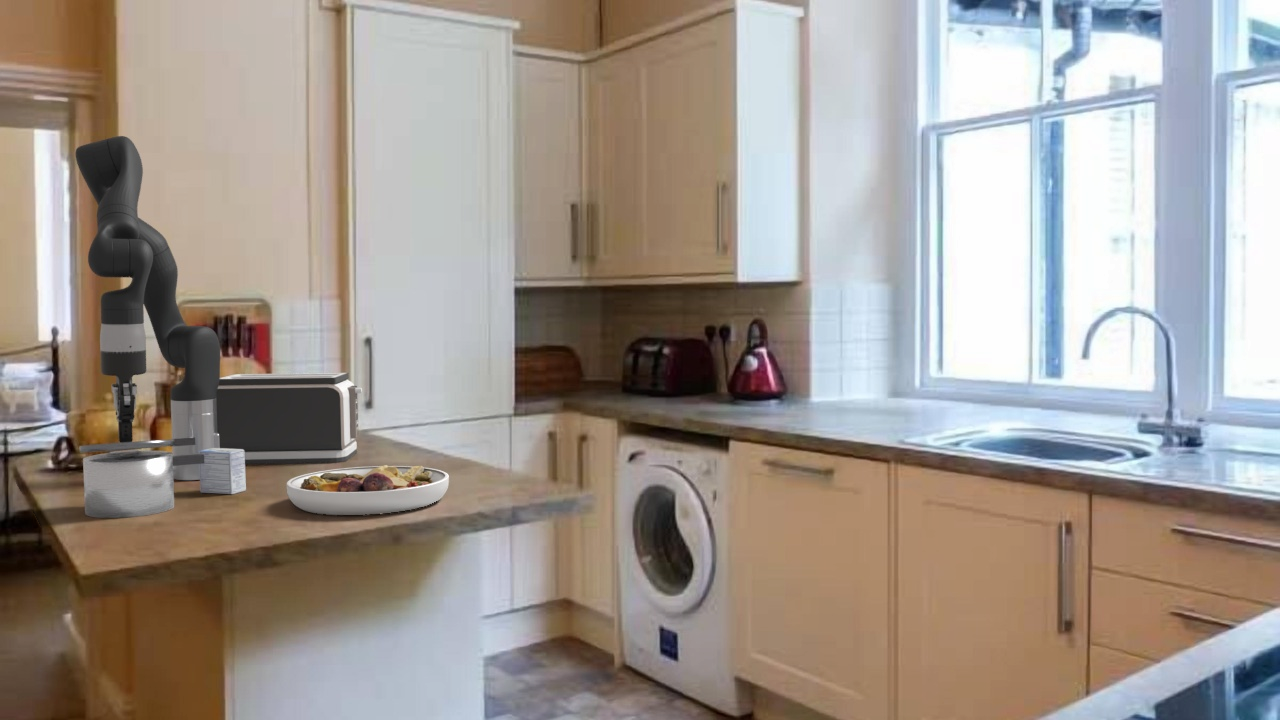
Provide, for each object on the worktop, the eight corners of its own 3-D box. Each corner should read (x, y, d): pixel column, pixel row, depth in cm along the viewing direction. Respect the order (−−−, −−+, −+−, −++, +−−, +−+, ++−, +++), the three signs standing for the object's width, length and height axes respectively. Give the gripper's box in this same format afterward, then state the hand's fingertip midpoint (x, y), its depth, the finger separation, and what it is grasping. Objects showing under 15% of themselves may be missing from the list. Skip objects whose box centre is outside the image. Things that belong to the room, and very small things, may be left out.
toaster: (356, 463, 254) (354, 377, 253) (206, 466, 251) (203, 379, 250) (369, 451, 273) (368, 372, 272) (230, 454, 271) (228, 373, 269)
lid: (188, 445, 212) (187, 429, 212) (201, 444, 197) (200, 426, 197) (77, 453, 202) (76, 436, 202) (82, 452, 187) (81, 433, 188)
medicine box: (246, 491, 218) (245, 449, 217) (231, 495, 213) (230, 452, 213) (215, 489, 220) (213, 447, 220) (199, 493, 216) (198, 450, 215)
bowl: (280, 497, 212) (279, 457, 212) (430, 485, 224) (429, 448, 224) (295, 526, 185) (294, 481, 184) (466, 511, 197) (465, 469, 196)
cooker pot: (197, 494, 214) (195, 445, 213) (211, 508, 199) (209, 455, 199) (82, 505, 203) (80, 453, 203) (87, 521, 189) (85, 465, 188)
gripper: (149, 350, 192) (151, 446, 193) (142, 345, 203) (144, 435, 205) (102, 351, 188) (105, 449, 190) (98, 346, 199) (100, 437, 201)
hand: (125, 441), depth 197 cm, fingers closed
